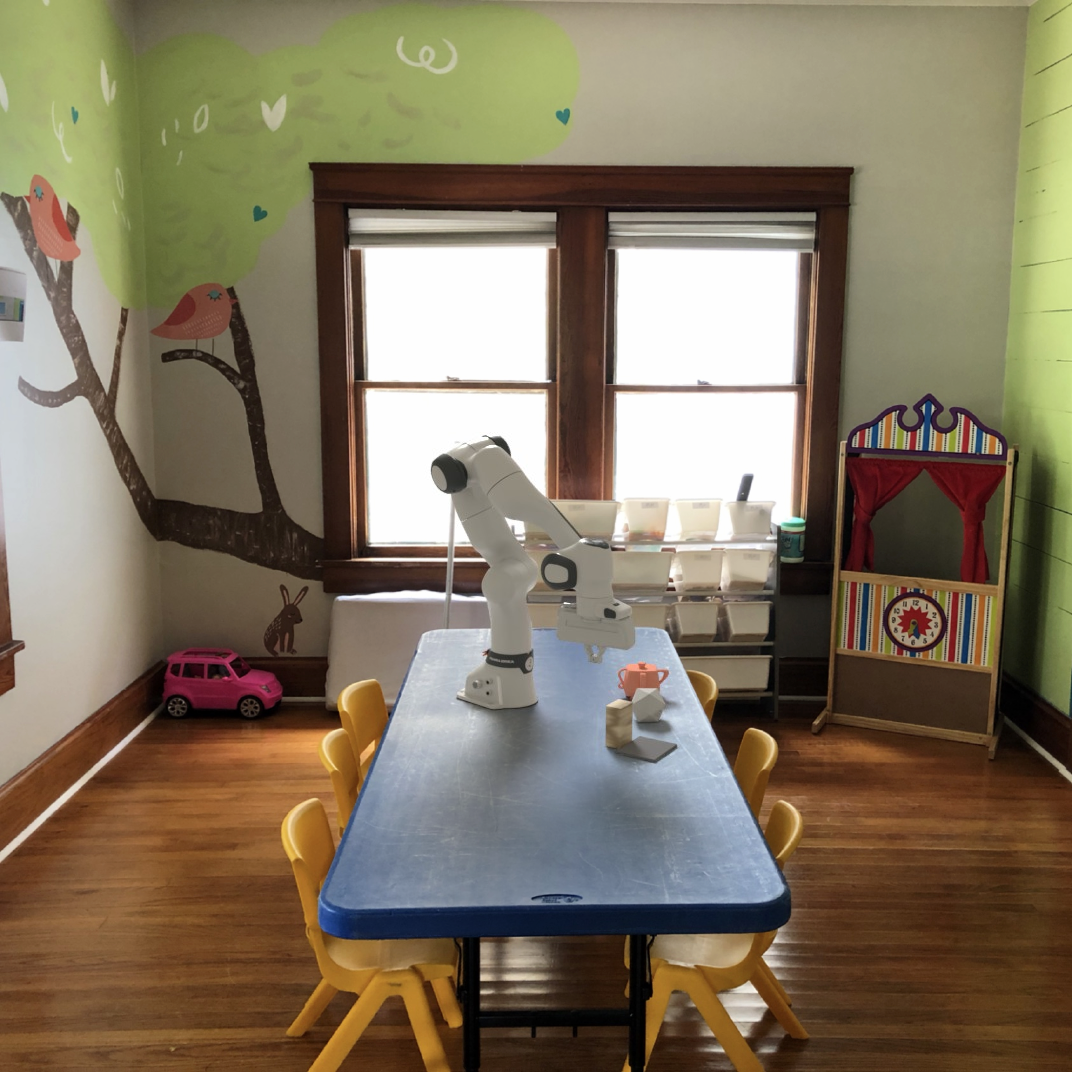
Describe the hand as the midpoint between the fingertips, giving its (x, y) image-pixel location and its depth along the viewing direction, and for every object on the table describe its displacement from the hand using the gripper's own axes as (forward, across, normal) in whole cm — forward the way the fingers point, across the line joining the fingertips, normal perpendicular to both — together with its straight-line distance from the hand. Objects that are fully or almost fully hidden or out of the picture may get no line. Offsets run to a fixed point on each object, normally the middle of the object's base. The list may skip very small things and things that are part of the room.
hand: (595, 662), depth 253 cm
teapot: (+19, -6, +36) cm, 41 cm away
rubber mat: (+19, +14, 0) cm, 24 cm away
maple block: (+19, +6, 0) cm, 20 cm away
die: (+20, +4, +19) cm, 27 cm away
